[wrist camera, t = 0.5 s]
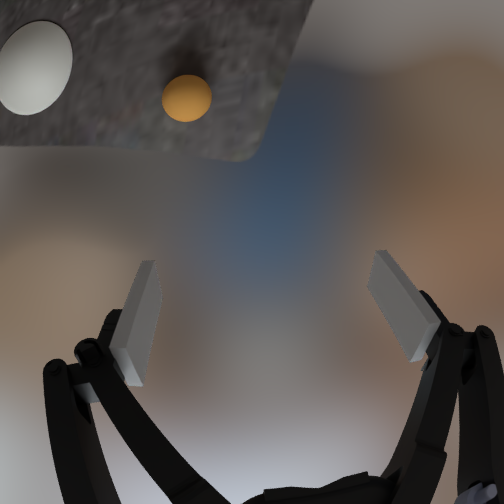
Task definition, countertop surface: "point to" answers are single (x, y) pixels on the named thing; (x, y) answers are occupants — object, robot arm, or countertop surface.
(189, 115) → the ball
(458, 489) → the robot arm
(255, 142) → the countertop surface
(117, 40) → the countertop surface
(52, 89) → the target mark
